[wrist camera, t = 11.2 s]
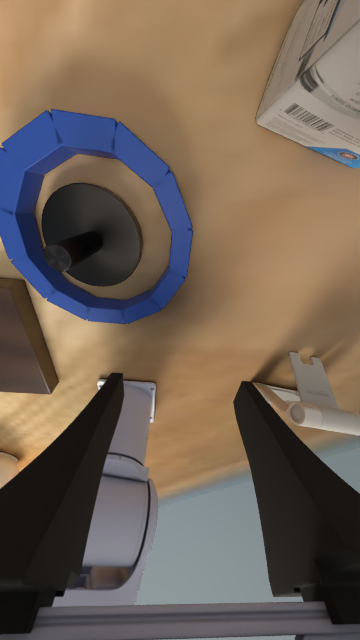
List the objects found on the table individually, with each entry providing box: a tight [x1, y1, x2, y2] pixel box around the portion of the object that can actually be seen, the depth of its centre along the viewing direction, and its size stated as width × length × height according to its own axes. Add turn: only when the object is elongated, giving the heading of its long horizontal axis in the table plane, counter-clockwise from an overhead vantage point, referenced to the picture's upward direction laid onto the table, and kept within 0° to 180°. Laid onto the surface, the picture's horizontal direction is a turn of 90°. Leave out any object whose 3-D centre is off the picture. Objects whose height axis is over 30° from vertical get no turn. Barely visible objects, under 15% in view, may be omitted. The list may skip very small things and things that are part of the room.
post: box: [41, 183, 142, 286], centre depth 14 cm, size 8×8×6 cm
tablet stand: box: [252, 352, 360, 436], centre depth 23 cm, size 9×8×8 cm
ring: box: [0, 109, 193, 324], centre depth 16 cm, size 15×15×2 cm
